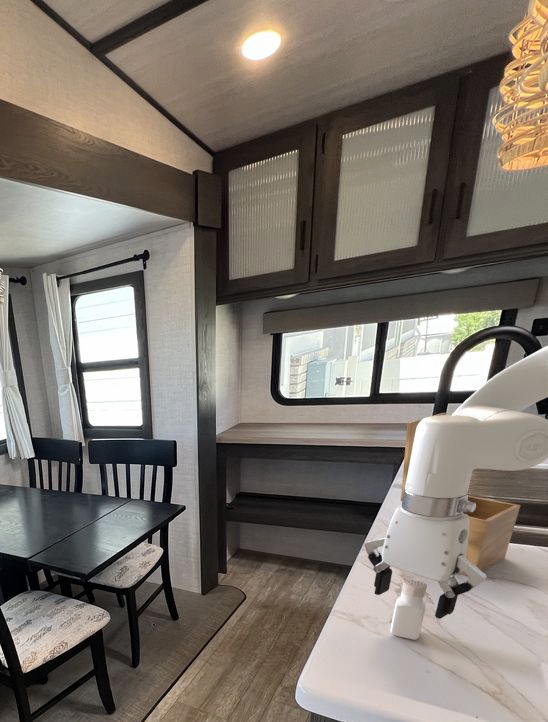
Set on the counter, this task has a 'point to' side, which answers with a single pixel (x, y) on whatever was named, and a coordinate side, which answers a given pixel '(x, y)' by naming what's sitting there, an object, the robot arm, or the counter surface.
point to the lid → (410, 448)
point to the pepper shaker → (409, 609)
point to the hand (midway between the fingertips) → (410, 603)
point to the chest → (489, 531)
